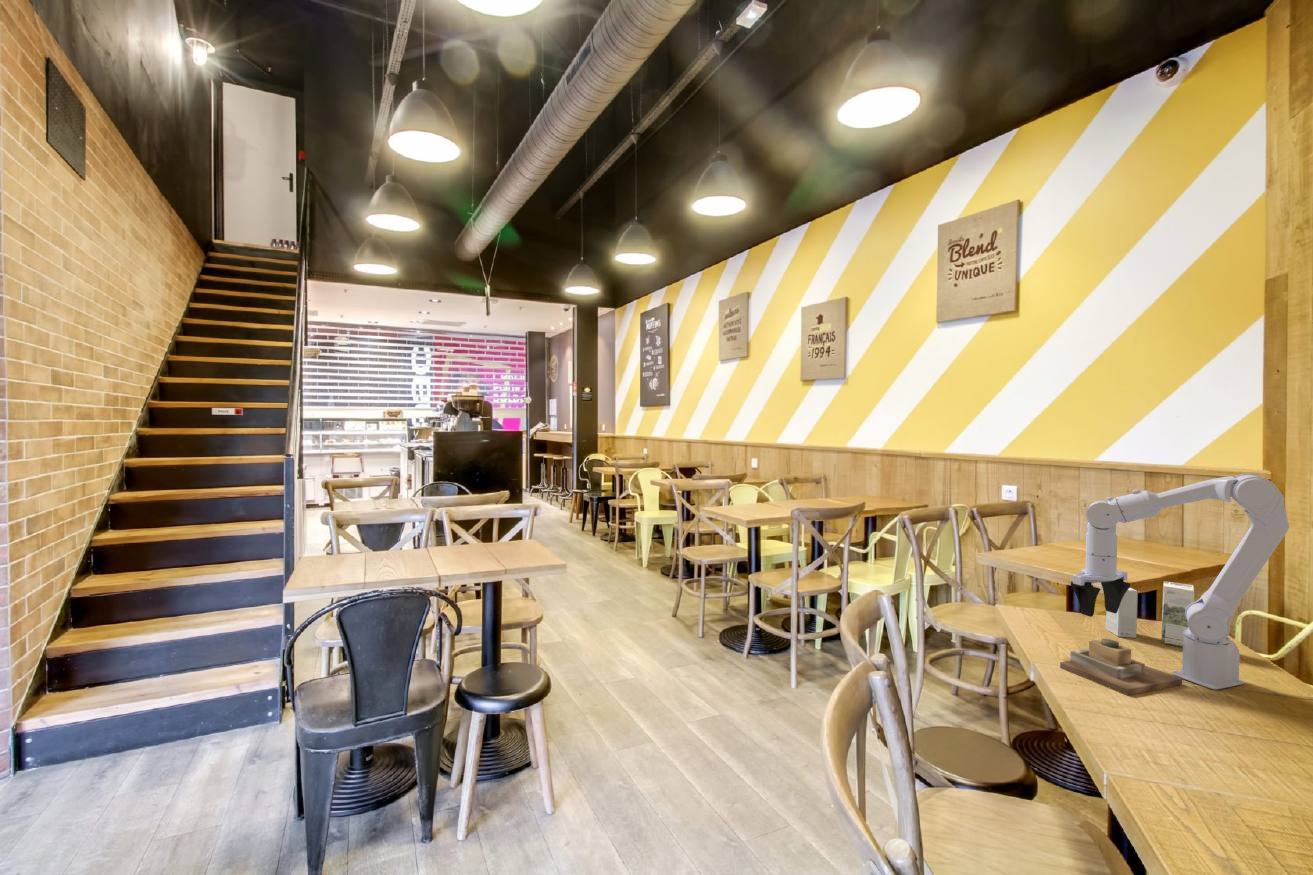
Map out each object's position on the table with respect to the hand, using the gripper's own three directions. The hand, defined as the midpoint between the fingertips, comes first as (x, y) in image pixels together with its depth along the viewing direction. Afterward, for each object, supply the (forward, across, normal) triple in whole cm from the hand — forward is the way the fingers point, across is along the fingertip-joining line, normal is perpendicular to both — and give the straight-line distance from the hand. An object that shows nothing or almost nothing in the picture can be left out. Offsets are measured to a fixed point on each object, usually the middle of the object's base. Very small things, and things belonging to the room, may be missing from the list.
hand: (1099, 613), depth 137 cm
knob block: (+9, +6, +6) cm, 13 cm away
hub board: (+10, +5, +8) cm, 14 cm away
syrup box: (+11, -28, -1) cm, 30 cm away
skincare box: (+11, -22, -10) cm, 26 cm away
